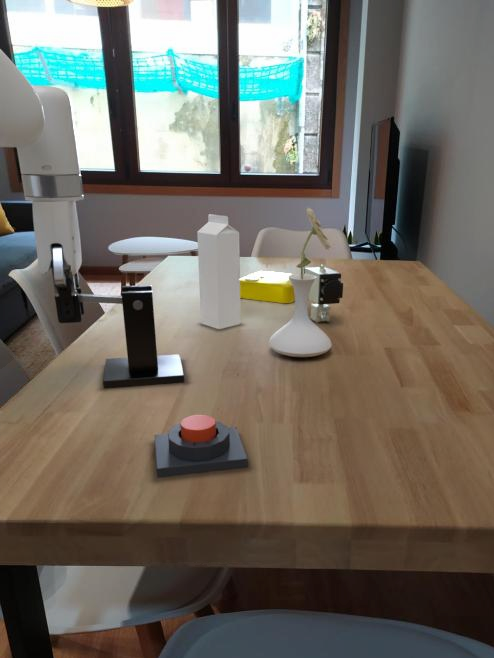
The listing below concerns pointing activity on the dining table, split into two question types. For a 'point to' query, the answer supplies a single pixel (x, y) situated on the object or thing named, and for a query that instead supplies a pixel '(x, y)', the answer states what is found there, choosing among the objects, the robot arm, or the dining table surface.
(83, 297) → the tap lever
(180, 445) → the button housing
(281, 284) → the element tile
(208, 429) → the button
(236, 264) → the milk
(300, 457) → the dining table surface
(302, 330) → the flower in vase
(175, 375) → the lever base
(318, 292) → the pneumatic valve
